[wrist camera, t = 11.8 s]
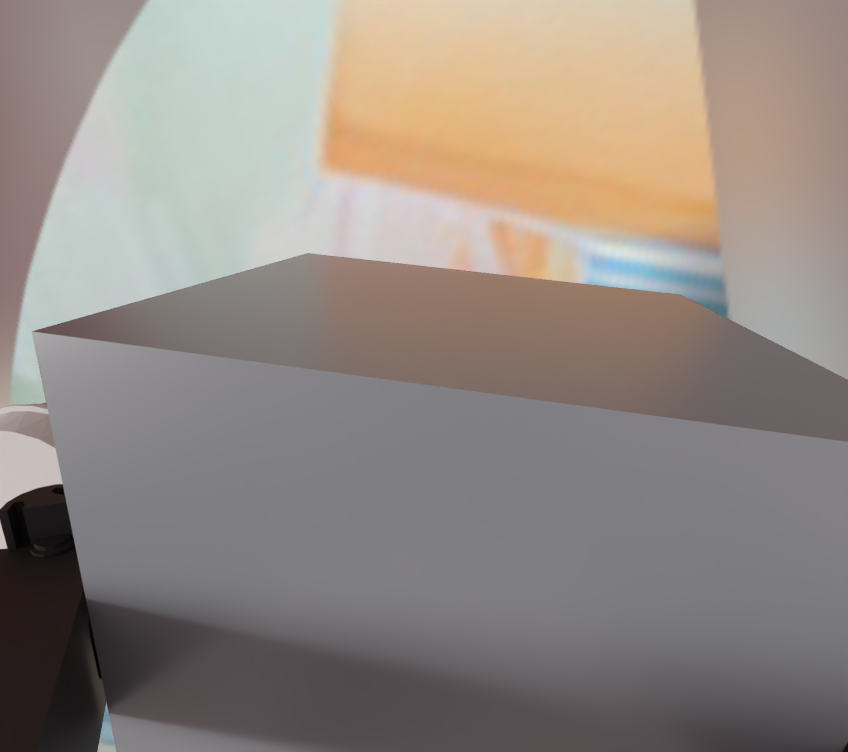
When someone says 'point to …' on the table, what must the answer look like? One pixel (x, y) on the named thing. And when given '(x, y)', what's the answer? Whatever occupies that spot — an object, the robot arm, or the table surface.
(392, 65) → the table surface
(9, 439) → the disposable coffee cup
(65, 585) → the robot arm
